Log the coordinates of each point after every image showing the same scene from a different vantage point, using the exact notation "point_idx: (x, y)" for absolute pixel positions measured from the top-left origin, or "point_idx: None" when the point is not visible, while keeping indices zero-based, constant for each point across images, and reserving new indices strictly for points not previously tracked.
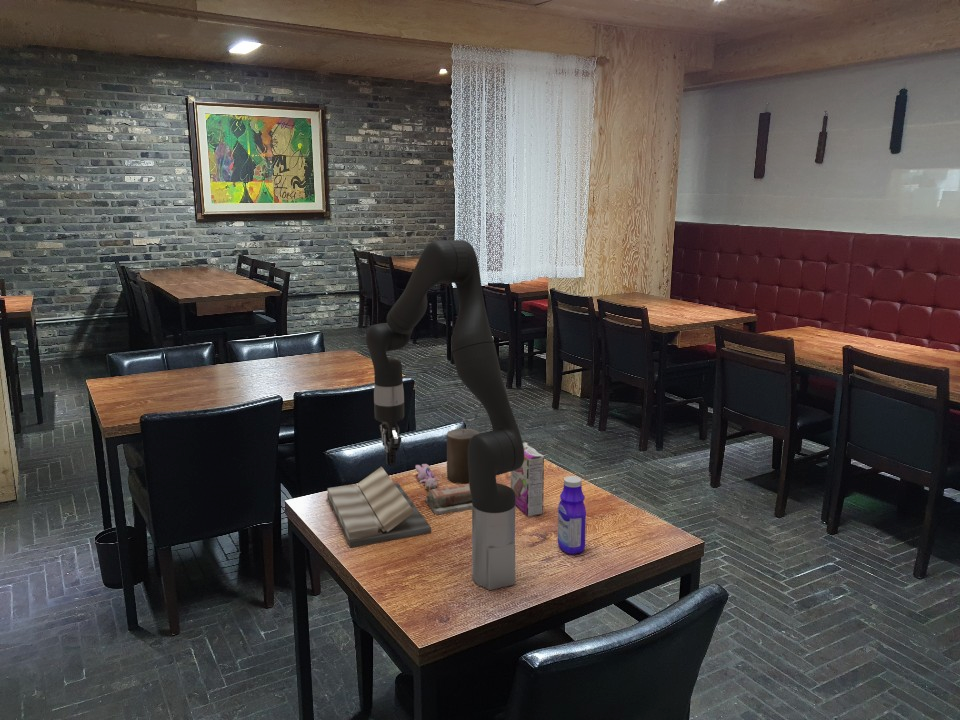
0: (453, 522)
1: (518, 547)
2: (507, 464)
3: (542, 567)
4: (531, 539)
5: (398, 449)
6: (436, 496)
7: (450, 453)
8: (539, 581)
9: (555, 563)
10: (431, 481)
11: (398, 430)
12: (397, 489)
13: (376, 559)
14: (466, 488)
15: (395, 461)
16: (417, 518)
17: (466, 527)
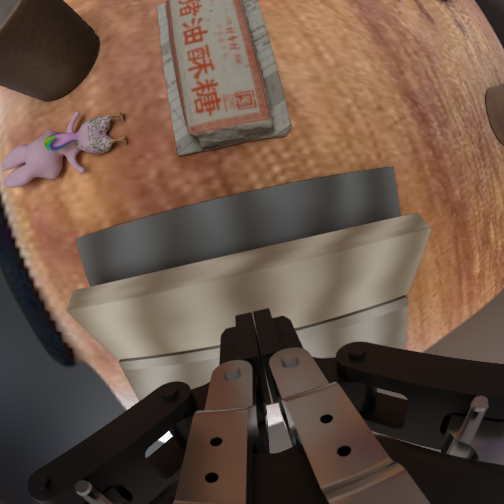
0: (339, 100)
1: (438, 37)
2: None
3: (478, 46)
4: (412, 7)
5: (393, 349)
6: (263, 116)
7: (26, 62)
8: (500, 70)
9: (467, 26)
10: (93, 132)
11: (417, 494)
12: (292, 264)
13: (445, 293)
14: (221, 24)
15: (270, 315)
16: (340, 193)
17: (368, 80)
